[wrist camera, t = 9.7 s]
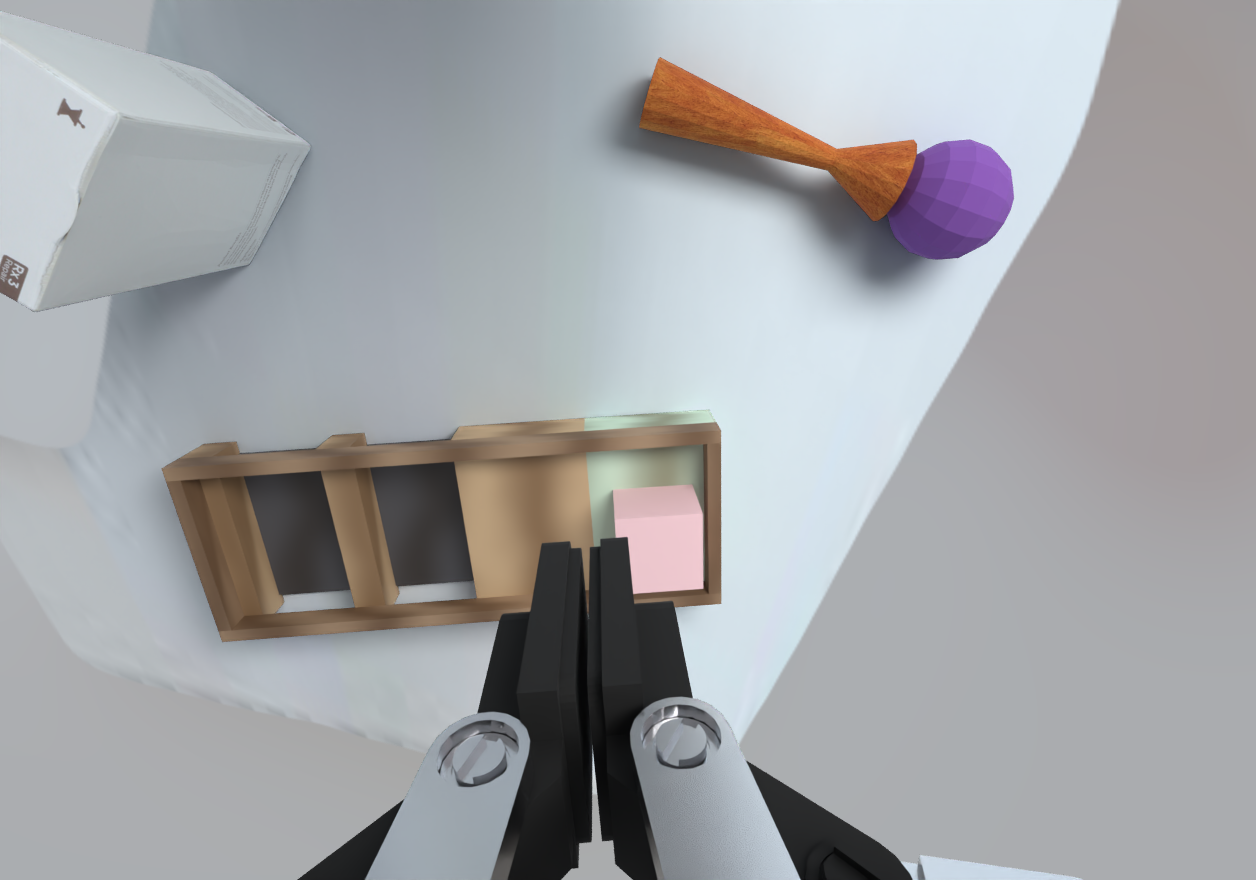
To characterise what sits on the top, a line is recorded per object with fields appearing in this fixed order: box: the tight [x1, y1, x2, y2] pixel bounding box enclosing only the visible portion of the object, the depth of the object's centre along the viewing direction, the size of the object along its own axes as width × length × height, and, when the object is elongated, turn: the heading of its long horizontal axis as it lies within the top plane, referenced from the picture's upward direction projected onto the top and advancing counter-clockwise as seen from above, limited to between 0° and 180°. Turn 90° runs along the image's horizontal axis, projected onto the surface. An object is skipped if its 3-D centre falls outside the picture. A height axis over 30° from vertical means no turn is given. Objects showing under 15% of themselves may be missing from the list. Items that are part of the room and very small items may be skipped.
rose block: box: [613, 484, 703, 594], centre depth 37 cm, size 5×5×4 cm
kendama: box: [639, 57, 1014, 259], centre depth 32 cm, size 6×6×20 cm
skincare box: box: [0, 11, 311, 312], centre depth 26 cm, size 8×6×15 cm
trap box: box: [162, 410, 721, 642], centre depth 39 cm, size 32×12×4 cm, turn 93°
